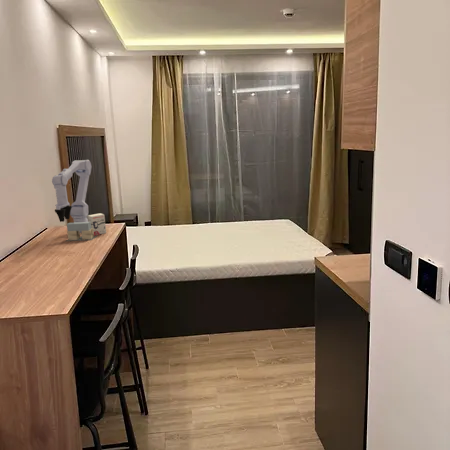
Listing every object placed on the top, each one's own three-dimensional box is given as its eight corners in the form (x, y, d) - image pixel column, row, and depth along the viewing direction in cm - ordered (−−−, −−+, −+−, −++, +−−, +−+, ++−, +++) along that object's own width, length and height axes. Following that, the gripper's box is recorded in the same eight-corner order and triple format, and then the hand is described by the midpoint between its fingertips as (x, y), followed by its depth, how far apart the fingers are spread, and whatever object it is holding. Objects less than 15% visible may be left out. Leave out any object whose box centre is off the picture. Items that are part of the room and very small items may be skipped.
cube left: (71, 238, 246) (70, 229, 245) (80, 237, 246) (79, 229, 245) (68, 240, 241) (67, 231, 240) (77, 239, 241) (76, 231, 240)
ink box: (93, 236, 249) (91, 216, 247) (89, 235, 253) (87, 215, 250) (106, 233, 255) (104, 213, 252) (102, 232, 258) (100, 213, 256)
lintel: (67, 231, 240) (66, 224, 240) (70, 229, 244) (69, 222, 243) (88, 230, 240) (88, 223, 239) (91, 228, 244) (90, 221, 243)
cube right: (85, 237, 245) (84, 228, 244) (94, 237, 245) (93, 228, 244) (82, 239, 241) (81, 230, 240) (91, 239, 240) (90, 230, 239)
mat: (72, 237, 249) (72, 236, 249) (97, 236, 249) (97, 235, 249) (64, 242, 239) (64, 241, 238) (91, 240, 238) (91, 240, 238)
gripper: (59, 195, 251) (62, 218, 253) (49, 198, 236) (52, 223, 239) (72, 194, 250) (74, 217, 253) (62, 198, 236) (65, 222, 239)
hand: (64, 220), depth 246 cm, fingers open, 7 cm apart
